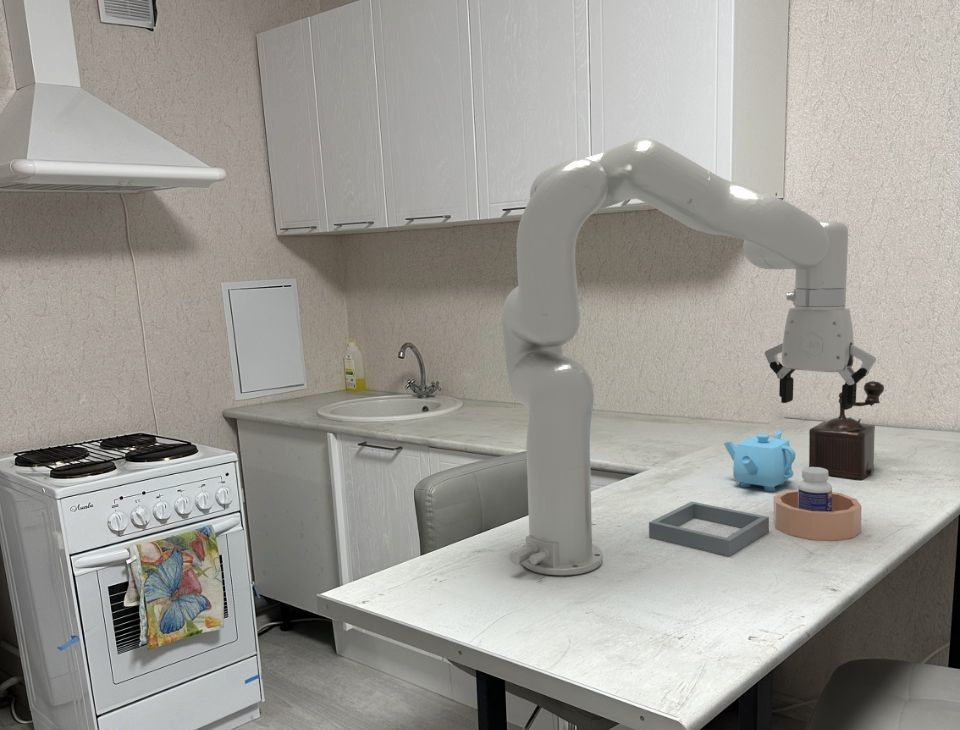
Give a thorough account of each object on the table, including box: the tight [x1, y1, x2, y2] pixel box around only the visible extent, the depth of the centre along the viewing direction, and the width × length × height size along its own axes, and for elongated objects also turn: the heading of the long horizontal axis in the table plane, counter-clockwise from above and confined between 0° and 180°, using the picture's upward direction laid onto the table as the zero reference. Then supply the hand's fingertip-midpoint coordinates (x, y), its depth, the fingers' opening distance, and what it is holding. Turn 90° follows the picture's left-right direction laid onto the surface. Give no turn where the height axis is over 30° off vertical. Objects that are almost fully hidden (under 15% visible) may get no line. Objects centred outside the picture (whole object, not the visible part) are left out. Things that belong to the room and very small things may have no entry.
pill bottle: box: [797, 466, 833, 512], centre depth 131 cm, size 5×5×9 cm
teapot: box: [723, 430, 796, 492], centre depth 156 cm, size 18×14×10 cm
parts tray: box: [648, 501, 770, 558], centre depth 130 cm, size 14×14×2 cm
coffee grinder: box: [808, 380, 885, 481], centre depth 164 cm, size 16×11×18 cm
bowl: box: [772, 489, 862, 542], centre depth 131 cm, size 13×13×4 cm
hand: (816, 405), depth 129 cm, fingers open, 9 cm apart
